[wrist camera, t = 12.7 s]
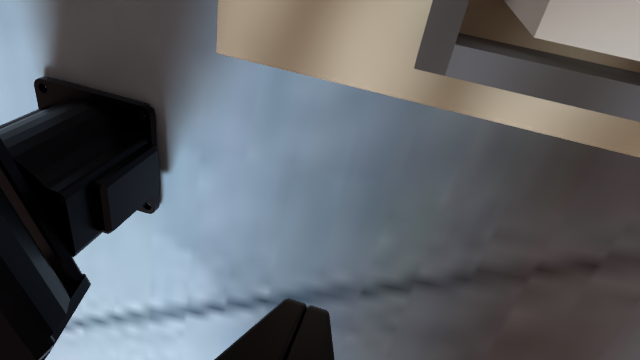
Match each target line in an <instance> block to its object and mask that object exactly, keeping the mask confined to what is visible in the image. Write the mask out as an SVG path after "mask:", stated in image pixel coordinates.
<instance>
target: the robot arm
mask: <svg viewBox="0 0 640 360" xmlns="http://www.w3.org/2000/svg"><path fill="white" fill-rule="evenodd" d="M45 86H46V87H47V88H46V87H45ZM34 87H35V92H36V97H37V102H38V107H39V109H38V110H36V111H33V112H31V113H29V114H26V115H24V116H22V117H19V118H17V119H15V120H12V121H10V122H8V123H5V124H3V125H1V126H0V360H45V358H46V357H47V355H48V354H49V353H50V351H51V349H52V348H53V346H54V344H55V343H56V341H57V339H58V338H59V336H60V335H61V333H62V331H63V330H64V328H65V326H66V325H67V323H68V321H69V320H70V318H71V316H72V315H73V313H74V311H75V310H76V308H77V307H78V305H79V303H80V302H81V300H82V298H83V297H84V295H85V293H86V292H87V290H88V288H89V287H90V285H91V283H90V282H89V280H88V278H87V277H86V275H85V274H82V273H81V271H80V269H79V268H78V266H77V264H76V263H75V261H74V259H73V258H72V257H74V256H76V255H77V254H78V253H79V252H80V251H81V250H83V249H84V248H85V247H86V246H87V245H88V244H89V243H91V242H92V241H93V240H94V239H95V238H96V237H98V236H99V235H100V234H101V233H102V232H103V233H107V234H109V233H111V232H112V231H114V230H115V229H116V228H117V227H118V226H120V225H121V224H122V223H123V222H124V221H125V220H126V219H127V218H129V217H130V216H131V215H132V214H133V213H134V212H135V211H136V210H138V211H141V212H145V213H149V214H151V213H154V212H155V211H156V210H157V209H158V208H159V190H160V181H159V158H158V150H157V143H156V121H155V112H154V110H153V108H152V107H151V106H150V105H149V104H146V103H143V102H140V101H136V100H132V99H129V98H125V97H121V96H117V95H114V94H110V93H106V92H103V91H99V90H95V89H91V88H88V87H84V86H80V85H77V84H73V83H69V82H66V81H62V80H58V79H54V78H51V77H46V76H44V77H41V78H38V79H36V80H35V82H34ZM141 111H143V112H144V113H145V115H146V117H145V116H144V115H143V114H142V112H141ZM148 203H149V204H150V205H151V206H150V205H149V204H148ZM215 360H334V352H333V343H332V334H331V326H330V317H329V313H328V311H327V310H324V309H321V308H318V307H315V306H311V305H310V306H308V307H307V306H306V304H305V303H302V302H299V301H296V300H293V299H289V298H288V299H285V300H283V301H282V302H281V303H280V304H279V305H278V306H276V307H275V308H274V309H273V310H272V311H271V312H269V313H268V314H267V315H266V316H265V317H264V318H262V319H261V320H260V321H259V322H258V323H257V324H255V325H254V326H253V327H252V328H251V329H250V330H248V331H247V332H246V333H245V334H244V335H243V336H241V337H240V338H239V339H238V340H237V341H236V342H234V343H233V344H232V345H231V346H230V347H229V348H227V349H226V350H225V351H224V352H223V353H222V354H220V355H219V356H218V357H217V358H216V359H215Z"/></svg>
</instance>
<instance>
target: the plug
mask: <svg viewBox="0 0 640 360" xmlns="http://www.w3.org/2000/svg"><path fill="white" fill-rule="evenodd" d="M504 1H505V2H506V4H507V5H508V6H509V7H510V9H511V10H512V11H513V12H514V14H515V15H516V16H517V17H518V19H519V20H520V21H521V22H522V23H523V25H524V26H525V27H526V28H527V30H528V31H529V32H530V33H531V35H532V36H533V37H534V38H538V39H542V40H547V41H551V42H556V43H560V44H565V45H569V46H574V47H578V48H583V49H587V50H591V51H596V52H600V53H605V54H609V55H614V56H618V57H623V58H627V59H632V60H636V61H640V0H504Z"/></svg>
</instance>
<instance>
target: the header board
mask: <svg viewBox="0 0 640 360" xmlns="http://www.w3.org/2000/svg"><path fill="white" fill-rule="evenodd" d="M216 53H218V54H222V55H226V56H230V57H234V58H238V59H243V60H247V61H251V62H255V63H259V64H263V65H267V66H271V67H275V68H279V69H283V70H287V71H291V72H295V73H299V74H303V75H307V76H311V77H316V78H320V79H324V80H328V81H332V82H336V83H340V84H344V85H348V86H352V87H356V88H360V89H364V90H368V91H372V92H376V93H380V94H384V95H388V96H393V97H397V98H401V99H405V100H409V101H413V102H417V103H421V104H425V105H429V106H433V107H437V108H441V109H445V110H449V111H453V112H457V113H461V114H465V115H470V116H474V117H478V118H482V119H486V120H490V121H494V122H498V123H502V124H506V125H510V126H514V127H518V128H522V129H526V130H530V131H534V132H538V133H543V134H547V135H551V136H555V137H559V138H563V139H567V140H571V141H575V142H579V143H583V144H587V145H591V146H595V147H599V148H603V149H607V150H611V151H615V152H620V153H624V154H628V155H632V156H636V157H640V61H636V60H632V59H627V58H623V57H618V56H614V55H609V54H605V53H600V52H596V51H591V50H587V49H583V48H578V47H574V46H569V45H565V44H560V43H556V42H551V41H547V40H542V39H538V38H534V37H533V36H532V35H531V33H530V32H529V31H528V30H527V28H526V27H525V26H524V25H523V23H522V22H521V21H520V20H519V19H518V17H517V16H516V15H515V14H514V12H513V11H512V10H511V9H510V7H509V6H508V5H507V4H506V2H505V1H504V0H218V19H217V49H216Z"/></svg>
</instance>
